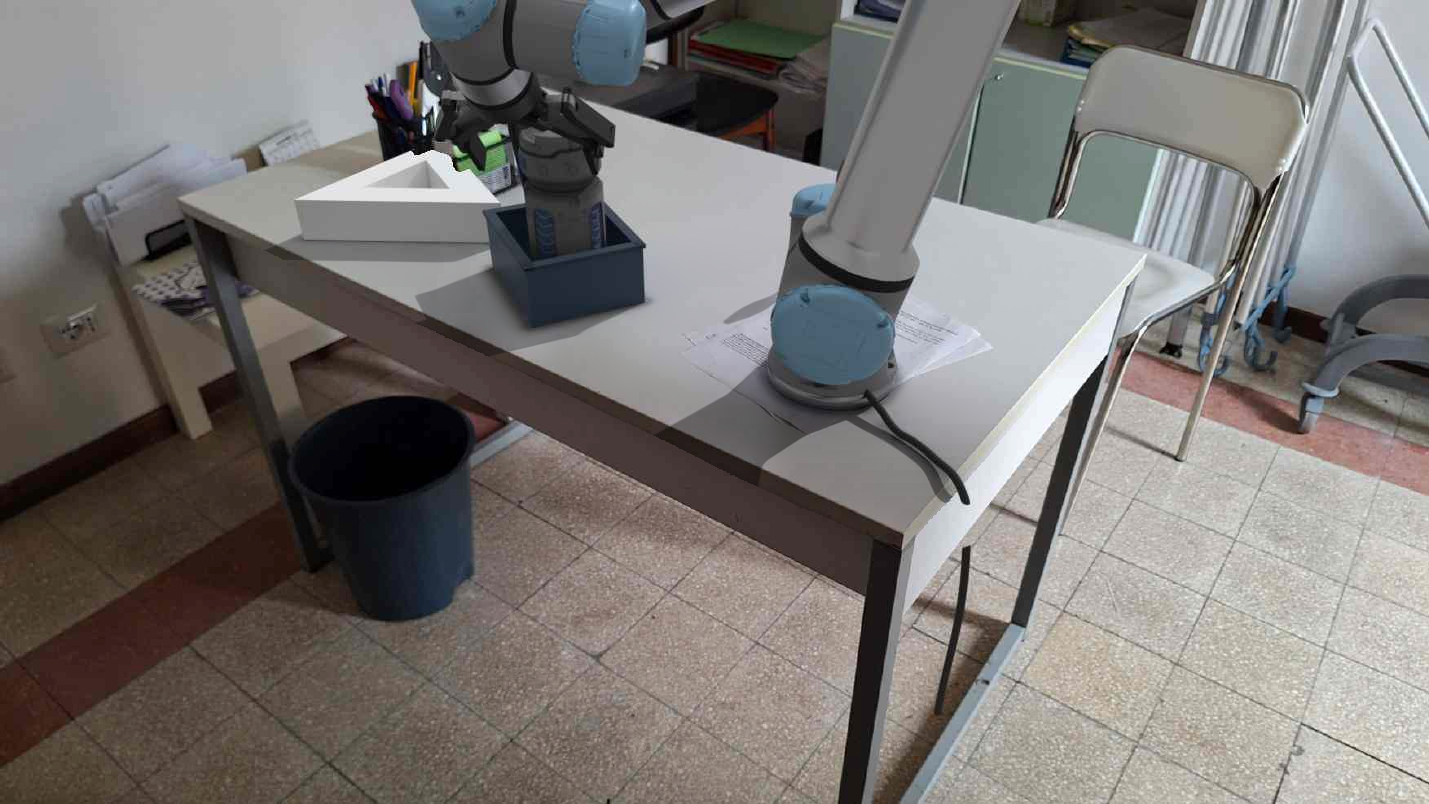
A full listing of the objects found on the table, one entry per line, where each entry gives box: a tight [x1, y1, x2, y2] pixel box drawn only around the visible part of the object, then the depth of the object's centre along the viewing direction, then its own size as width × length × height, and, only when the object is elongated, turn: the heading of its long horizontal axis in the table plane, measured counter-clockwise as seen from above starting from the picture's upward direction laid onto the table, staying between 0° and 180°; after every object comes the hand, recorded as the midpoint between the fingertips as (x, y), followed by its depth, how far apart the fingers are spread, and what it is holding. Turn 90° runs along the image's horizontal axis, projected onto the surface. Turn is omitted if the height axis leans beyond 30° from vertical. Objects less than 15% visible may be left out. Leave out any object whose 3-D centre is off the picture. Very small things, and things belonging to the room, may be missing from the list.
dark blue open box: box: [483, 201, 647, 328], centre depth 133 cm, size 19×16×9 cm
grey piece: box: [506, 117, 607, 262], centre depth 129 cm, size 10×13×25 cm
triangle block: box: [293, 150, 502, 244], centre depth 150 cm, size 30×26×6 cm
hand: (539, 162), depth 118 cm, fingers open, 13 cm apart
